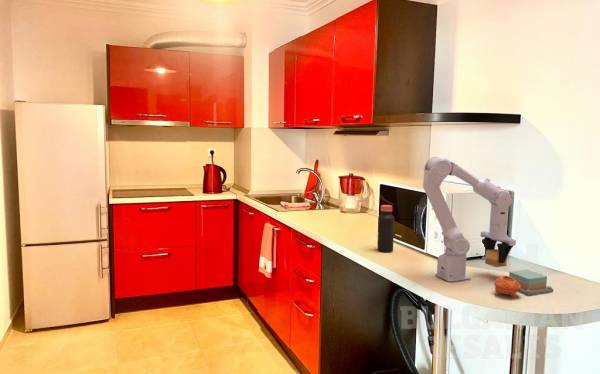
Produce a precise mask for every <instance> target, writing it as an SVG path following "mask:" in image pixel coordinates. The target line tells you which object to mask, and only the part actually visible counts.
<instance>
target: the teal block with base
mask: <svg viewBox="0 0 600 374" xmlns="http://www.w3.org/2000/svg"><path fill="white" fill-rule="evenodd" d="M508 273H509V274H508V276H509V277H513V278H515V280H516V281H517V282H518V283H519V284H520V286H521V289H520V290H519V291H518V292H517V293H520V294H523V295H525V296H527V297H531V296H537V295H543V294H549V293H553V292H554V288H553V287H552V286H551V285H548V286H547V281H548V276H547V275H545V274H541V273H540V272H539V273H538V272H535V271H532V270H530V269H521V270H520V269H519V270H513V271H509V272H508Z"/></svg>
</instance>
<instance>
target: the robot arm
mask: <svg viewBox="0 0 600 374" xmlns="http://www.w3.org/2000/svg"><path fill="white" fill-rule="evenodd" d="M423 172H424V173H423V181H422V188H423V190H424V193H425V194H426V196H427V199H428V200H429V203H430V205H431V208H432V210H433V212H434V214H435V217H436V219H437V220H438V223H439V225H440V227H441V229H442V232H441V234H442V236H443V237H442V238H443V239H442V240H443V245H444V246H445V252H444V253H443V254H441V255H439V256H438V258H437V266H436V267H437V268H436V273H435V276H436V277H438V278H441V279H442V280H445V281H446V282H447V281H448V282H449V283H451V282H452V283H453V282H458V281H465V280H471V278H472V277H470V276H468V275H467V274H466V271H467V269H466V268H467V254H468V252H469V251H470V247H471V246H470V245H471V243H470V241H469V240H468V239H467V238H465V237H464V235H463V232H461V230H460V229H459V227H458V225H457V224H456V221H455V219H454V217H453V215H452V212H451V210H450V208H449V205H448V203H447V202H446V199H445V197H444V194H443V192H442V190H441V184H442V183H443V181H444V180H445V179H446V178H447V177H448V176H451V177H452V176H454V177H456V178H458V179H460V180H461V181H463V182H465V183H466V184H468V185H470V186H471V187H472V190H473V192H474V193H475V194H478V195H479V196H481V197H482V198H483V199H485V200H487V201H488V202H489V204H490V216H489V217H490V218H489V230H488V231H486V230H483V231H480V238H482V239H481V240H482V243H483V244H484V247H485V250H491V249H496V246H497V249H498V251H499V263H505V261H506V258H507V259H508V255H509V253H510V252H511V251H512V249H513V247H514V246H516V244H517V243H516V242H517V240H516V239H514V238H512V237H509V236H508V235H507V231H508V220H509V208H510V206H511V205H512V203H513V199H512V195H511V194H510V193H509V192H508V191H506V190H503V189H502V187H501V186H500V185H496V184H494V183H492V182H491V179H489V178H488V177H485V178H484V177H481V178H477V176H475V175H474V174H472V173H471V172H469V171H468V170H466V169H464V168H463V167H462V166H461V165H459V164H457V163H455V162H453V161H450V160H449V159H447V158H441V157H438V156H433V157H430V158H428V159H427V160H426V163H425V164H424V167H423ZM483 237H485V238H484V239H483ZM497 242H499V243H497Z"/></svg>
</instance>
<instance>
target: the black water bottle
mask: <svg viewBox="0 0 600 374" xmlns="http://www.w3.org/2000/svg"><path fill="white" fill-rule="evenodd" d="M392 213H393V205H391V204H382V205H380V214H379V216H378V217H377V218H378V219H377V243H376V244H377V251H378V252H380V253H392V252H393V251H394V238H395V237H394V232H395V230H394V229H395V217H394V215H393V214H392Z"/></svg>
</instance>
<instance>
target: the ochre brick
mask: <svg viewBox="0 0 600 374" xmlns="http://www.w3.org/2000/svg"><path fill="white" fill-rule="evenodd" d="M484 260H485V262H484V263H485V264H486V265H488V266H490V267H493V268H501V267H506V266H507V264H508V257H507V258H506V261H505V263H499V251H498V248H495V249H491V250H486V259H484Z"/></svg>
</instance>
